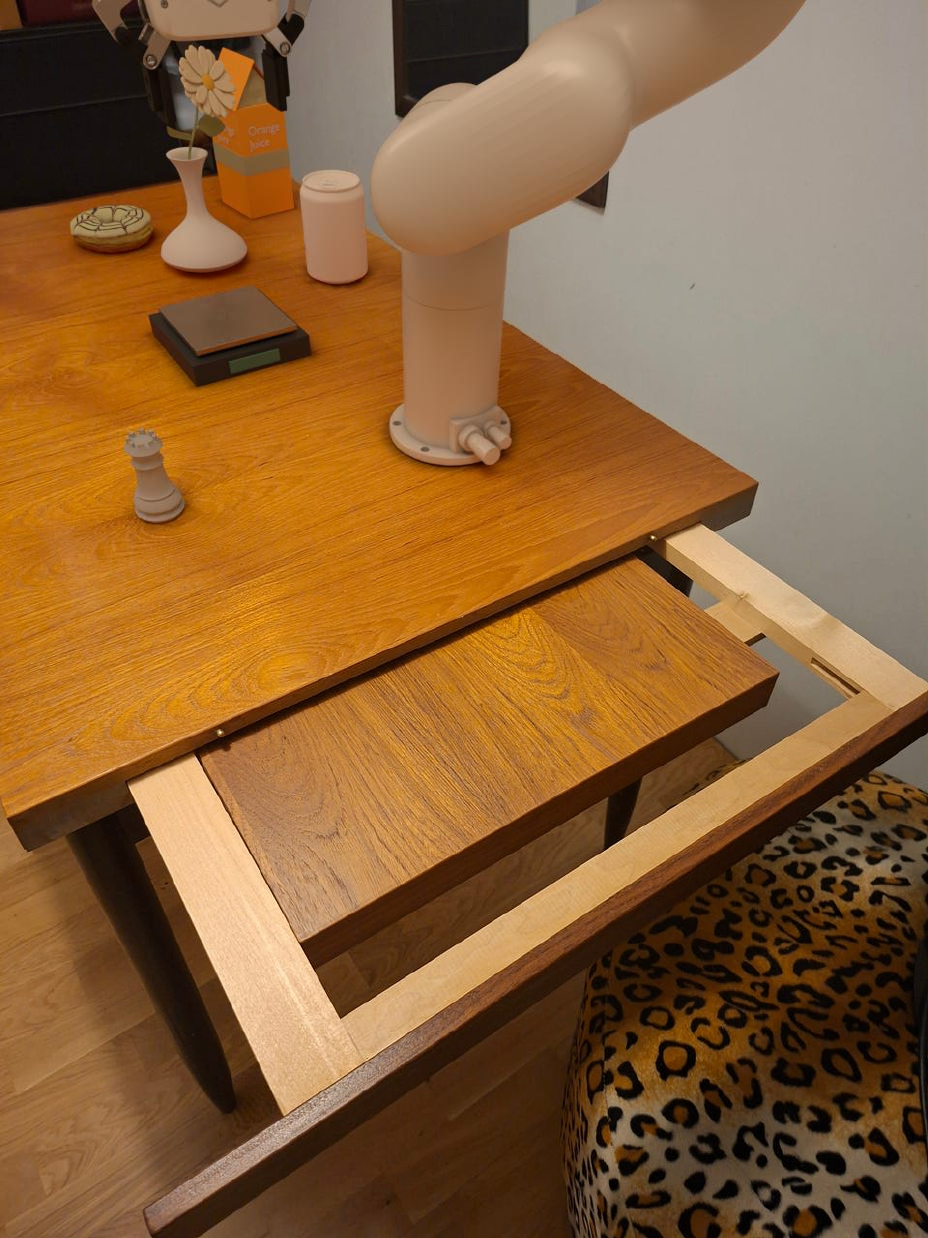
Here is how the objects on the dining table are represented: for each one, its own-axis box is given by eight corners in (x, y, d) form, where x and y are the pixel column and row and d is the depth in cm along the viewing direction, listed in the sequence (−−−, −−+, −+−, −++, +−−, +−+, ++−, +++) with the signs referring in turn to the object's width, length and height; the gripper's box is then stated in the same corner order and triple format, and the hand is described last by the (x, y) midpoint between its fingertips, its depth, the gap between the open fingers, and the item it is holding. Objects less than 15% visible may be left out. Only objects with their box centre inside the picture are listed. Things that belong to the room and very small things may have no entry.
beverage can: (372, 263, 120) (368, 170, 111) (362, 289, 114) (357, 193, 105) (315, 259, 120) (306, 166, 112) (301, 284, 114) (291, 188, 106)
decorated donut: (94, 224, 126) (87, 197, 124) (165, 229, 126) (160, 202, 123) (63, 253, 119) (54, 224, 116) (139, 258, 118) (132, 230, 116)
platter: (297, 330, 99) (296, 324, 99) (197, 356, 95) (196, 350, 94) (254, 290, 106) (253, 284, 106) (158, 312, 101) (157, 307, 101)
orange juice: (265, 191, 138) (246, 43, 124) (295, 208, 133) (279, 56, 119) (221, 201, 134) (196, 50, 120) (250, 219, 129) (228, 64, 115)
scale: (312, 355, 101) (310, 335, 99) (197, 387, 95) (193, 367, 94) (261, 307, 109) (258, 288, 108) (152, 334, 104) (148, 314, 102)
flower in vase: (187, 288, 113) (143, 65, 95) (148, 258, 119) (100, 44, 101) (275, 264, 119) (249, 50, 101) (234, 237, 125) (202, 31, 107)
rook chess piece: (190, 495, 82) (172, 422, 76) (180, 525, 79) (161, 451, 73) (142, 495, 82) (120, 421, 76) (130, 525, 79) (107, 451, 73)
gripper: (72, -153, 56) (133, 139, 68) (320, -152, 62) (335, 114, 75) (45, -163, 60) (107, 112, 72) (279, -162, 67) (300, 91, 79)
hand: (223, 113), depth 73 cm, fingers open, 9 cm apart
